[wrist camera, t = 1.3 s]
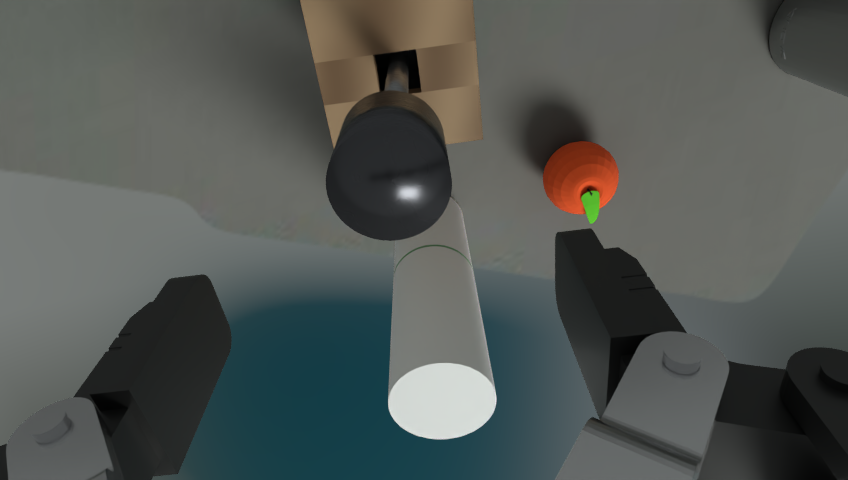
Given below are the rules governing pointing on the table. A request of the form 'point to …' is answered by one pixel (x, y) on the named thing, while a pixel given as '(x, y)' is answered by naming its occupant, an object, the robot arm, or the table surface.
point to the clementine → (581, 178)
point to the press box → (391, 32)
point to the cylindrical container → (438, 335)
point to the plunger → (390, 158)
